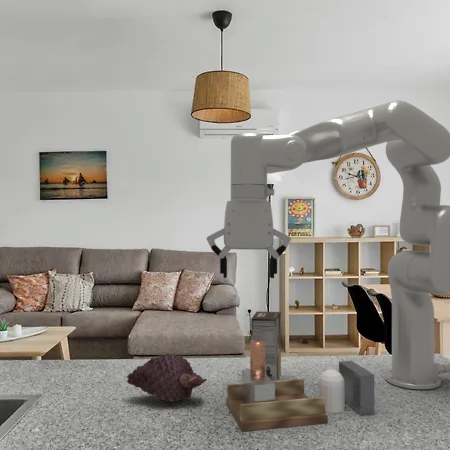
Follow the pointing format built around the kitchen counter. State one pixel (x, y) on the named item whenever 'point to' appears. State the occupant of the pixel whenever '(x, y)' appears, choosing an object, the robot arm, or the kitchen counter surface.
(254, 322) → the coffee box
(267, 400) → the ram
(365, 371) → the gray rectangular block
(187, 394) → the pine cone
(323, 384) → the capsule
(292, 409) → the base
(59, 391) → the kitchen counter surface
